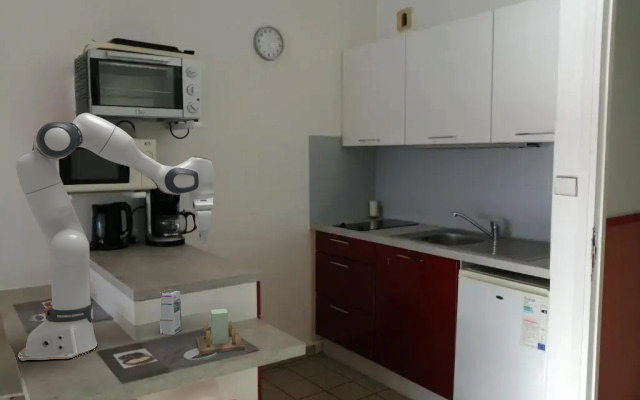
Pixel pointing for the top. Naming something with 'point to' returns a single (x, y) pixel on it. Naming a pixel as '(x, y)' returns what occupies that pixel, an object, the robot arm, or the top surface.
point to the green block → (219, 326)
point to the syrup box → (170, 313)
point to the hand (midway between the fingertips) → (203, 241)
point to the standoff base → (208, 347)
